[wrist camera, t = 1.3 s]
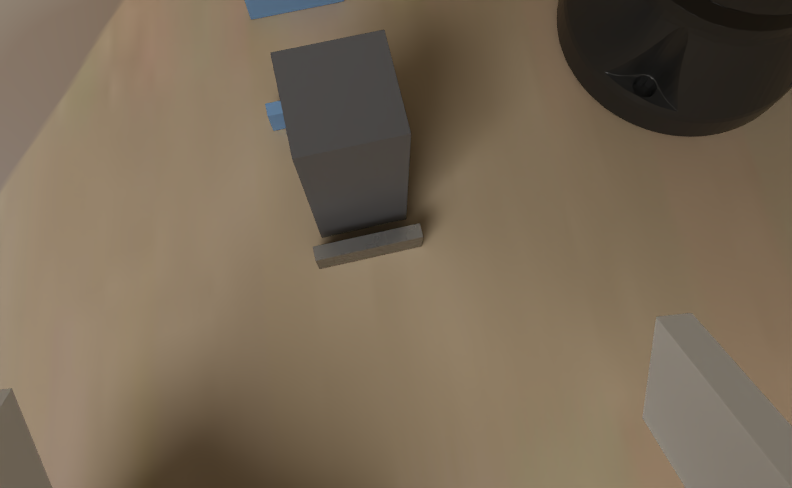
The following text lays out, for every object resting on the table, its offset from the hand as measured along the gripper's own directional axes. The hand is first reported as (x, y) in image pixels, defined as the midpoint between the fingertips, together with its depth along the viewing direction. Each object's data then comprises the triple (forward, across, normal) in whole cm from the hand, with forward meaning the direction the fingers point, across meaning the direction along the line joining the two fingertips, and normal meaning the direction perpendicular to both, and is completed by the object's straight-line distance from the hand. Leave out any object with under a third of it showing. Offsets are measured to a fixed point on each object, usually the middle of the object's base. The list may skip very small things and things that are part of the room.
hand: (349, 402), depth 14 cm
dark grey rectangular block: (+26, +1, -6) cm, 27 cm away
